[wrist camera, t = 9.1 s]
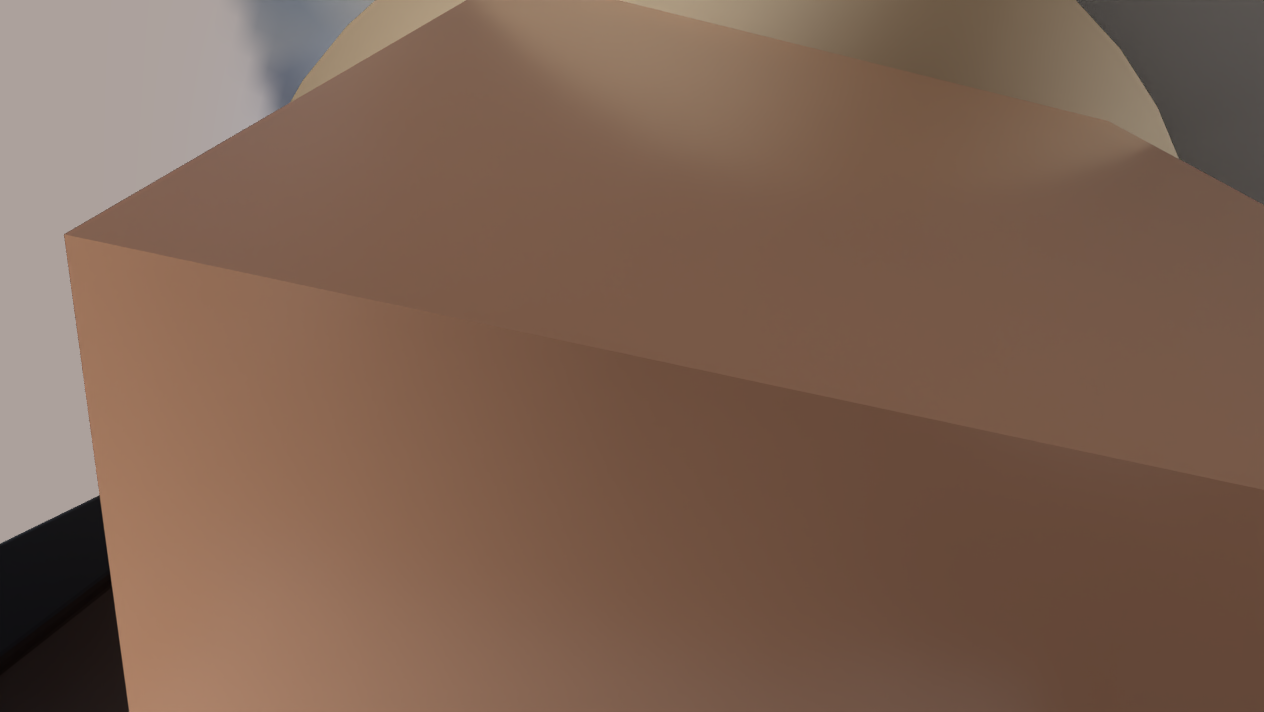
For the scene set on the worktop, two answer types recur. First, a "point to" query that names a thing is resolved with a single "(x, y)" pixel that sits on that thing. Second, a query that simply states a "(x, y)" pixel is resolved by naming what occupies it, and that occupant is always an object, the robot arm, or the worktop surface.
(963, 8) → the coaster
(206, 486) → the salmon pink block
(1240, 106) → the worktop surface
